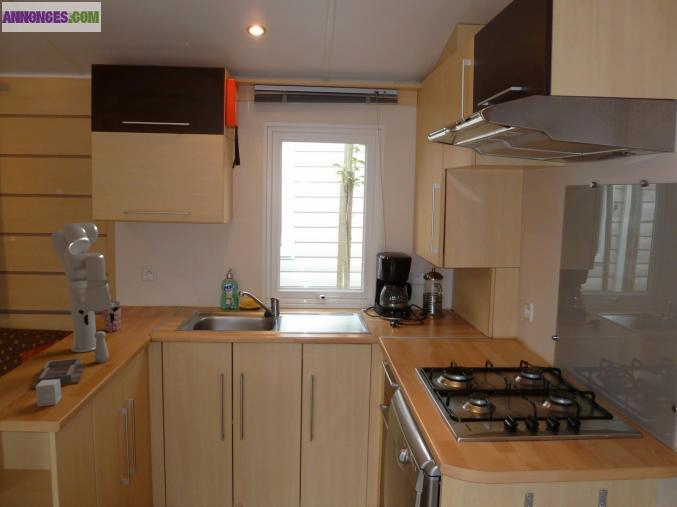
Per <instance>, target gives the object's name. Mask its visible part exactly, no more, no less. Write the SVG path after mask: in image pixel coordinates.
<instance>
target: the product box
mask: <svg viewBox="0 0 677 507" xmlns="http://www.w3.org/2000/svg"><path fill="white" fill-rule="evenodd" d="M61 386H62V385H60V379H55V380H42V381H41V382H40V383H39V384H38V385H37V386H36V388H35V395H36V405H37V407H44V406H46V407H48V406H56V405H57V404H59V402H60V400H62V389H61V388H62V387H61Z"/></svg>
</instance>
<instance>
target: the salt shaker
mask: <svg viewBox="0 0 677 507" xmlns="http://www.w3.org/2000/svg"><path fill="white" fill-rule="evenodd" d="M106 335H107V334H106V331H103V330H102V331H96V333H95V338H96V347H95V350H94V359H95V362H96V363H97V364H103V363H106V362H108V360H109V357H110V353H109V350H108V347H107V342H106V339H105V338H106Z"/></svg>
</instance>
